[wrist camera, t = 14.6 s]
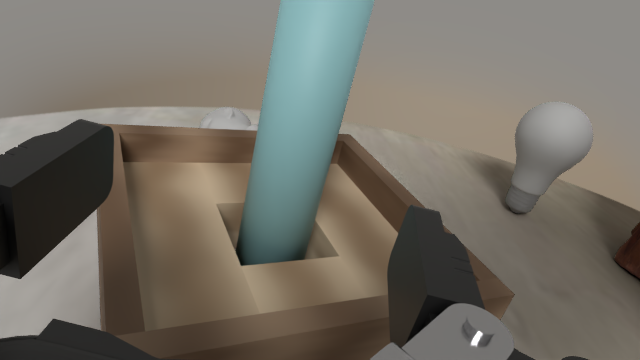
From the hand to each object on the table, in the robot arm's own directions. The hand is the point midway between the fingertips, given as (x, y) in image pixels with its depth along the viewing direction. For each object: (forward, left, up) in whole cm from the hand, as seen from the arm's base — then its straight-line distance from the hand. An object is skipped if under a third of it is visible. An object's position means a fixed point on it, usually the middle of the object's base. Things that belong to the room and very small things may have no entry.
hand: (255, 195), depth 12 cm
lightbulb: (-33, -15, -12) cm, 38 cm away
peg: (-5, -9, -12) cm, 16 cm away
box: (-6, -10, -12) cm, 16 cm away
